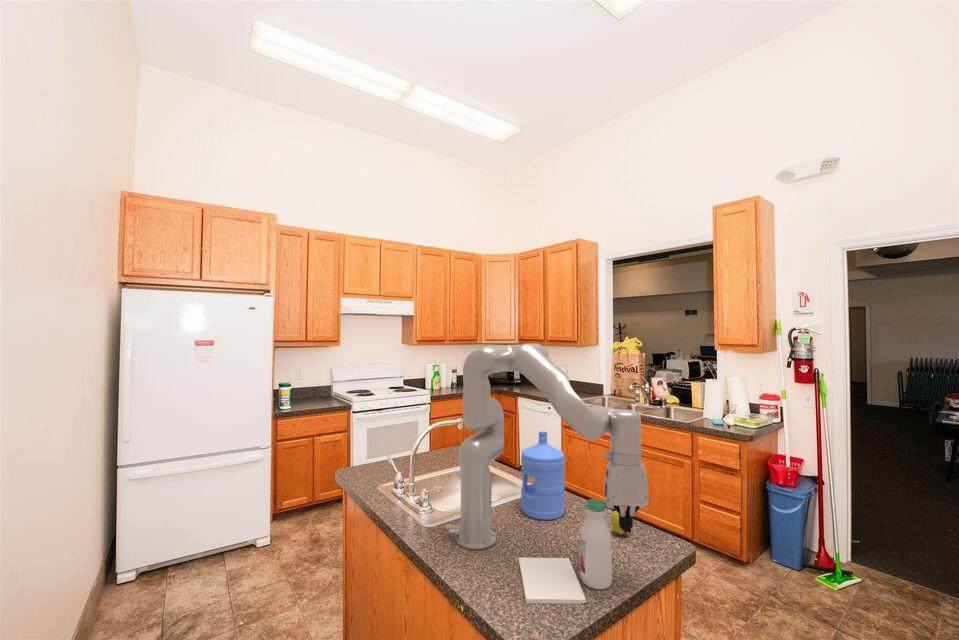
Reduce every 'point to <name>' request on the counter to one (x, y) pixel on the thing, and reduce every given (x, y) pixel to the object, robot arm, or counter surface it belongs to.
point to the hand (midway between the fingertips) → (625, 530)
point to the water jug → (543, 481)
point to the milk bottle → (596, 547)
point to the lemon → (616, 523)
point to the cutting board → (550, 581)
